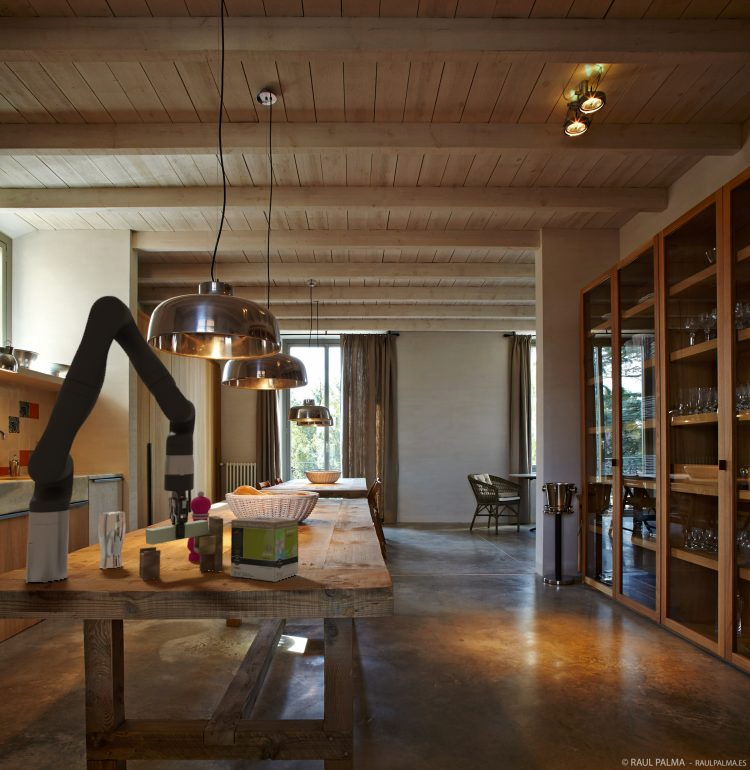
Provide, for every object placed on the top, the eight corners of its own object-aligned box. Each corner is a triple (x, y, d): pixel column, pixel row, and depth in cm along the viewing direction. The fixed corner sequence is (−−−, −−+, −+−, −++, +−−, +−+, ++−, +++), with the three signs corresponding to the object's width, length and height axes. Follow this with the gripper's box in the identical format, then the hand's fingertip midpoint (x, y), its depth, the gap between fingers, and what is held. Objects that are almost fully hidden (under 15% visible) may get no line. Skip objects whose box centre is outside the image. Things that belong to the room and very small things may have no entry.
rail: (152, 544, 155) (151, 530, 155) (146, 543, 158) (145, 529, 158) (208, 533, 167) (208, 520, 167) (202, 532, 169) (201, 519, 169)
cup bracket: (199, 574, 161) (200, 520, 162) (193, 569, 167) (194, 517, 168) (222, 571, 164) (223, 518, 165) (215, 567, 170) (216, 515, 171)
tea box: (299, 575, 159) (299, 517, 160) (274, 583, 150) (274, 522, 152) (255, 569, 167) (256, 514, 168) (229, 576, 158) (229, 518, 159)
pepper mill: (215, 557, 184) (216, 490, 186) (206, 562, 177) (208, 492, 179) (192, 557, 185) (193, 490, 187) (182, 561, 178) (184, 492, 179)
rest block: (143, 580, 154) (144, 552, 155) (138, 575, 160) (139, 548, 160) (159, 578, 156) (160, 550, 157) (155, 573, 162) (155, 546, 162)
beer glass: (125, 563, 175) (126, 510, 176) (123, 568, 169) (125, 513, 170) (98, 565, 173) (100, 511, 174) (95, 570, 166) (97, 514, 168)
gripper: (159, 471, 168) (158, 535, 166) (170, 474, 156) (168, 542, 154) (187, 470, 172) (186, 533, 170) (200, 473, 159) (199, 540, 158)
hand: (178, 537), depth 162 cm, fingers closed on rail, 4 cm apart
